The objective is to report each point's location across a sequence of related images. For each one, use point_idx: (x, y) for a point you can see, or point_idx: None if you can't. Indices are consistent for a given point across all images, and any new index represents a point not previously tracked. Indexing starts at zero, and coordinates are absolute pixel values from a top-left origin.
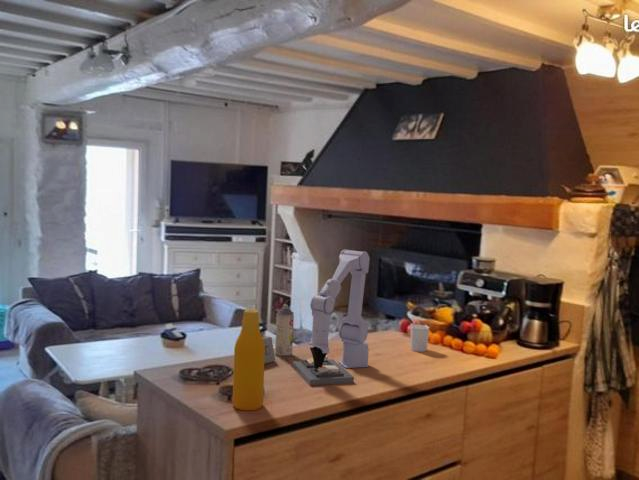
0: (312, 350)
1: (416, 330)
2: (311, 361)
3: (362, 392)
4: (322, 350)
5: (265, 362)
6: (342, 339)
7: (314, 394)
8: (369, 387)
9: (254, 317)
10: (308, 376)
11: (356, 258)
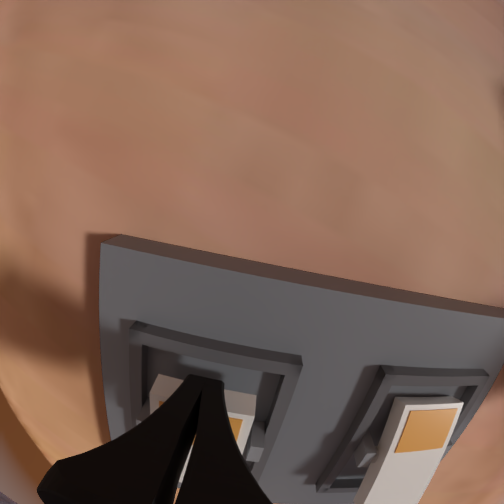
0: (99, 495)
1: None
2: (411, 421)
3: (24, 398)
4: (4, 500)
5: None
6: None
7: (9, 193)
8: (73, 450)
9: None
10: (175, 274)
11: None
